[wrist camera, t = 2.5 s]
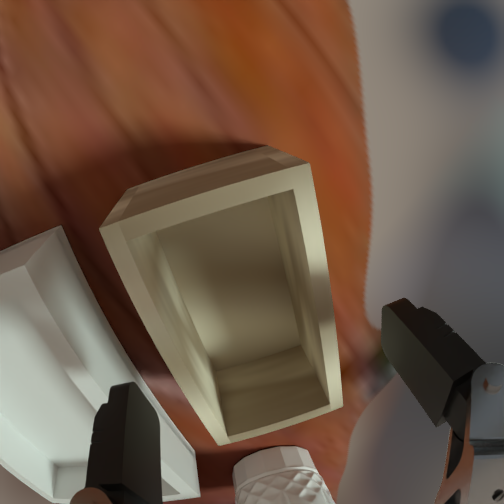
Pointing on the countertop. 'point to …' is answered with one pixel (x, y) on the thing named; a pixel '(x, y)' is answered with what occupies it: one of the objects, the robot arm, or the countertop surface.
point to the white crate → (64, 374)
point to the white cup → (279, 478)
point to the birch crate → (234, 289)
